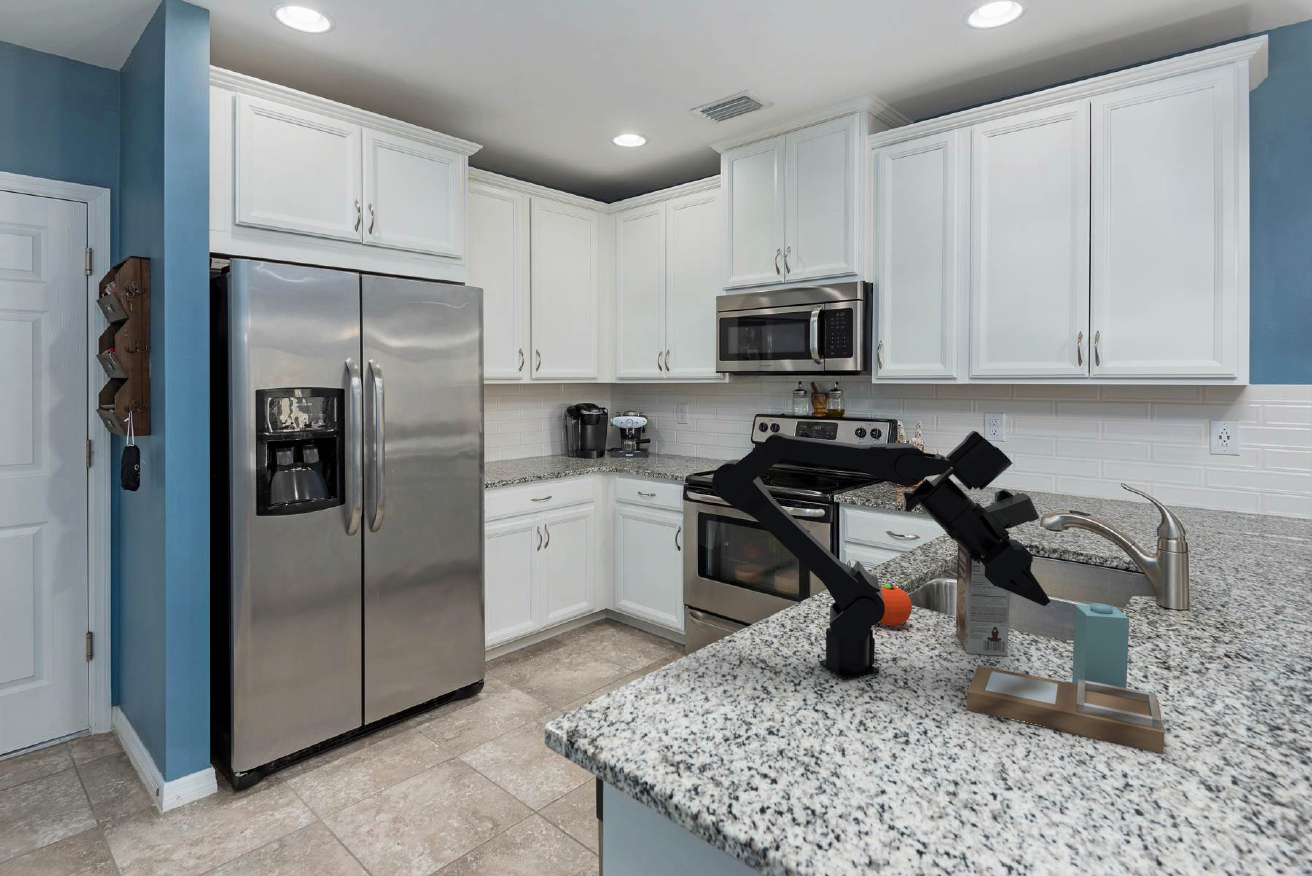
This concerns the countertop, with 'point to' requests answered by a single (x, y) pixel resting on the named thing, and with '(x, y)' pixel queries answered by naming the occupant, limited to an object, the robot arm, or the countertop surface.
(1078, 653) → the teal pillar
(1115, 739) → the walnut base plate
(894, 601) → the clementine
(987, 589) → the coffee box
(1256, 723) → the countertop surface
